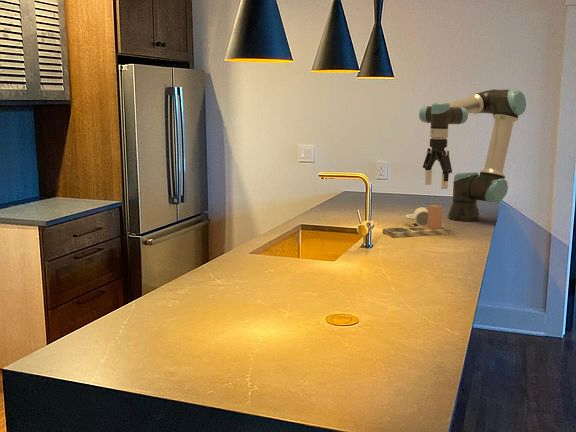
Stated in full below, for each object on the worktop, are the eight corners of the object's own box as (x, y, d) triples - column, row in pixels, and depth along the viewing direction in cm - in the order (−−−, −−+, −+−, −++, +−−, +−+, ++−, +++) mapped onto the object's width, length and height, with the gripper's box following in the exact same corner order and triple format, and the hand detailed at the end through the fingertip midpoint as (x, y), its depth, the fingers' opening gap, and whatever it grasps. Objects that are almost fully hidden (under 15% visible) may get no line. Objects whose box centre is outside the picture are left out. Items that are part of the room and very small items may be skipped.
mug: (429, 224, 312) (430, 207, 311) (432, 228, 302) (433, 211, 301) (404, 223, 313) (405, 206, 312) (405, 227, 304) (406, 210, 302)
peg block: (435, 231, 295) (437, 204, 293) (441, 233, 291) (442, 206, 289) (427, 231, 294) (428, 205, 292) (432, 233, 290) (433, 207, 288)
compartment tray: (437, 229, 299) (438, 224, 298) (450, 234, 290) (450, 229, 289) (382, 232, 290) (383, 228, 289) (393, 237, 281) (393, 232, 280)
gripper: (416, 136, 295) (414, 183, 299) (446, 140, 272) (443, 190, 276) (431, 136, 298) (428, 182, 302) (462, 140, 275) (459, 190, 279)
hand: (436, 186), depth 289 cm, fingers open, 13 cm apart
